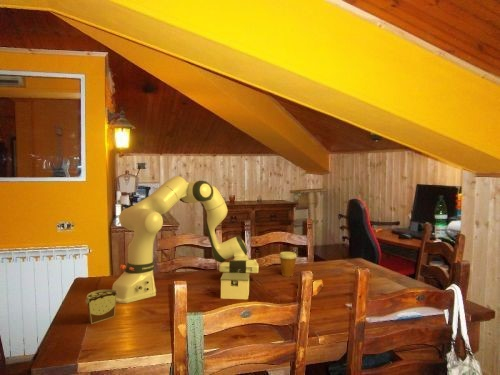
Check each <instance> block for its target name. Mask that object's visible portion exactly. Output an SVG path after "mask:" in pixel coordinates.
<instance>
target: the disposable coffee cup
mask: <svg viewBox="0 0 500 375" xmlns="http://www.w3.org/2000/svg"><path fill="white" fill-rule="evenodd" d="M279 260H280V268H281V275H282V276H283V277H286V278H287V277H288V278H289V277H290V276H291V277H293V276H294V274H295V268H296V262H297V261H296V260H297V253H296V252H294V251H281V252H280V253H279Z"/></svg>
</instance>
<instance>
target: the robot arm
mask: <svg viewBox="0 0 500 375" xmlns="http://www.w3.org/2000/svg"><path fill="white" fill-rule="evenodd" d="M179 201H180V202H182V203H183V204H196V203H201V204H202V205H203V207H204V209H205V211H206V218H205V228H206V233H207V237H208V240H209V242H210V243H209V244H210V247H211V252H212V257H213V258H214V261H215V262H217V263H219V267H218V272H220V273H229V262H227V261H228V260H231V259H232V258H233V259H232V260H246V273H250V274H258V273H259V267H260V266H259V263H258V262H257V259H255V258H249V254H248V251H249V250H248V246H247V245H246V242H245V240H243V238H241V237H239V236H235V237H231V238H230V239H228V240H225V241H223V242H219V241H218V237H217V235H216V231H215V230H216V228H217V227H218V226H219V225H220V223H222V222H223V220H225V219H226V217H227V215H228V212H229V211H228V206H227V204H226V202H225V199H224V197H223V196H222V194H221V192H220V191H219V189H218V188H217V187H216V186H214V185H211V184H210V183H209V182H208V181H205V180H194V181H187V180H186V179H185V178H184V177H182V176H181V175H175V176H173V177H172V178H170V179H168V180H167V181H165V182H164V183H162V185H160V186H159V187H157V189H156V190H154V191H153V192H152V193H151V194H149V195H148V196H147V197H145V198H144V199H142V200H139V201H138V202H137V203H135V204H133V205H131V206H129V207H126V208H124V209H123V210H121V212H120V213H119V217H118V220H119V221H118V222H119V224H120V225H121V226H122V227H123V228H124V229H126V230H128V231H133V237H132V240H131V242H129V244H127V245H128V247H127V262H126V264H120V269H121V270H124V272H122V274H121V275H120V276H119V277H118V278H117V279H116V280H115V281H114V282H113V284H112V287H111V290H116V291H117V294H118V296H117V295H116V303H119V304H129V303H133V302H136V301H141V300H145V299H149V298H153V297H156V296H157V288H156V283H155V276H154V269H155V262H154V243H155V239H156V237H157V236H156V235H157V234H158V233H159V231H161V229H162V227H163V224H164V220H163V216H162V215H163V214H166V213H168V212H169V211H170V210H171V208H173V206H174V205H176V204H177V203H178V202H179Z"/></svg>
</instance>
